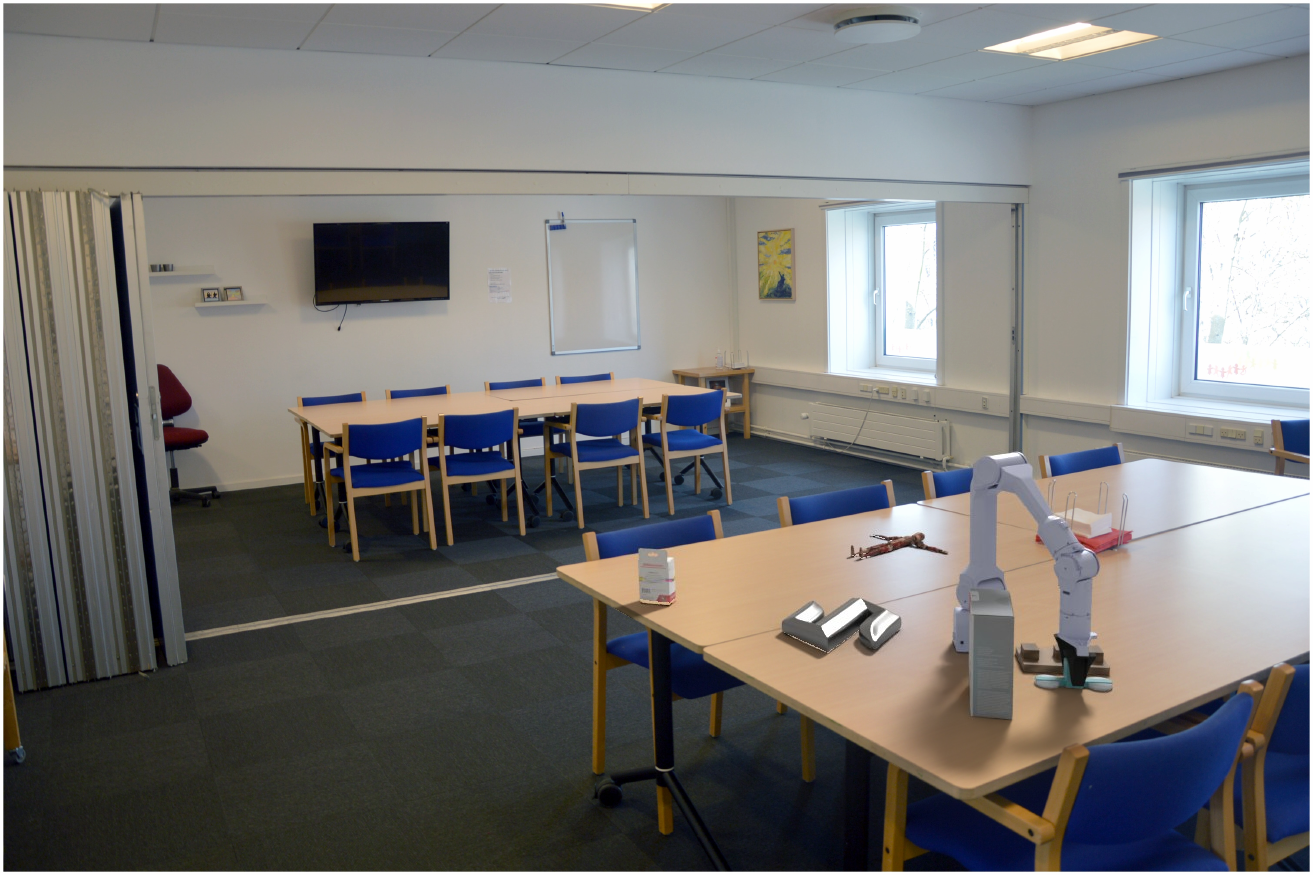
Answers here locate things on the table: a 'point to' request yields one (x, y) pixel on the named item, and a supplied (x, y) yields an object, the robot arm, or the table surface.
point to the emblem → (842, 624)
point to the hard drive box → (991, 653)
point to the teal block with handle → (1055, 682)
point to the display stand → (1055, 659)
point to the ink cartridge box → (656, 576)
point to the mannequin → (896, 545)
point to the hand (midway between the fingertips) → (1073, 677)
